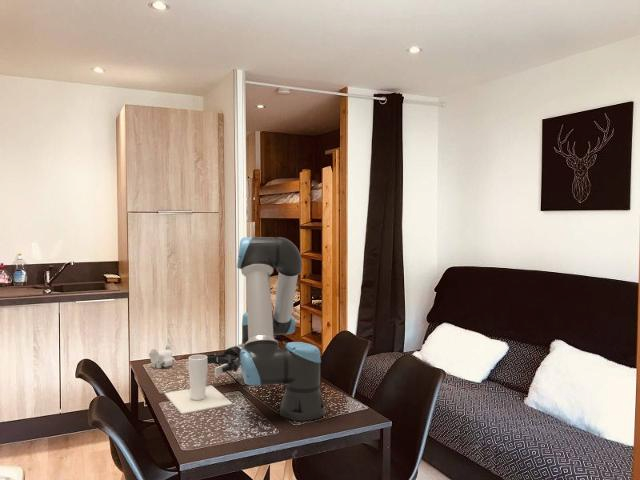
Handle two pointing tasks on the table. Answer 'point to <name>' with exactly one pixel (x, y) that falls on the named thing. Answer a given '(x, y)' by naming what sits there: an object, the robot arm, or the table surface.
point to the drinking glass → (197, 376)
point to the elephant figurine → (161, 357)
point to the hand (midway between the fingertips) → (200, 369)
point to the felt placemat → (189, 406)
